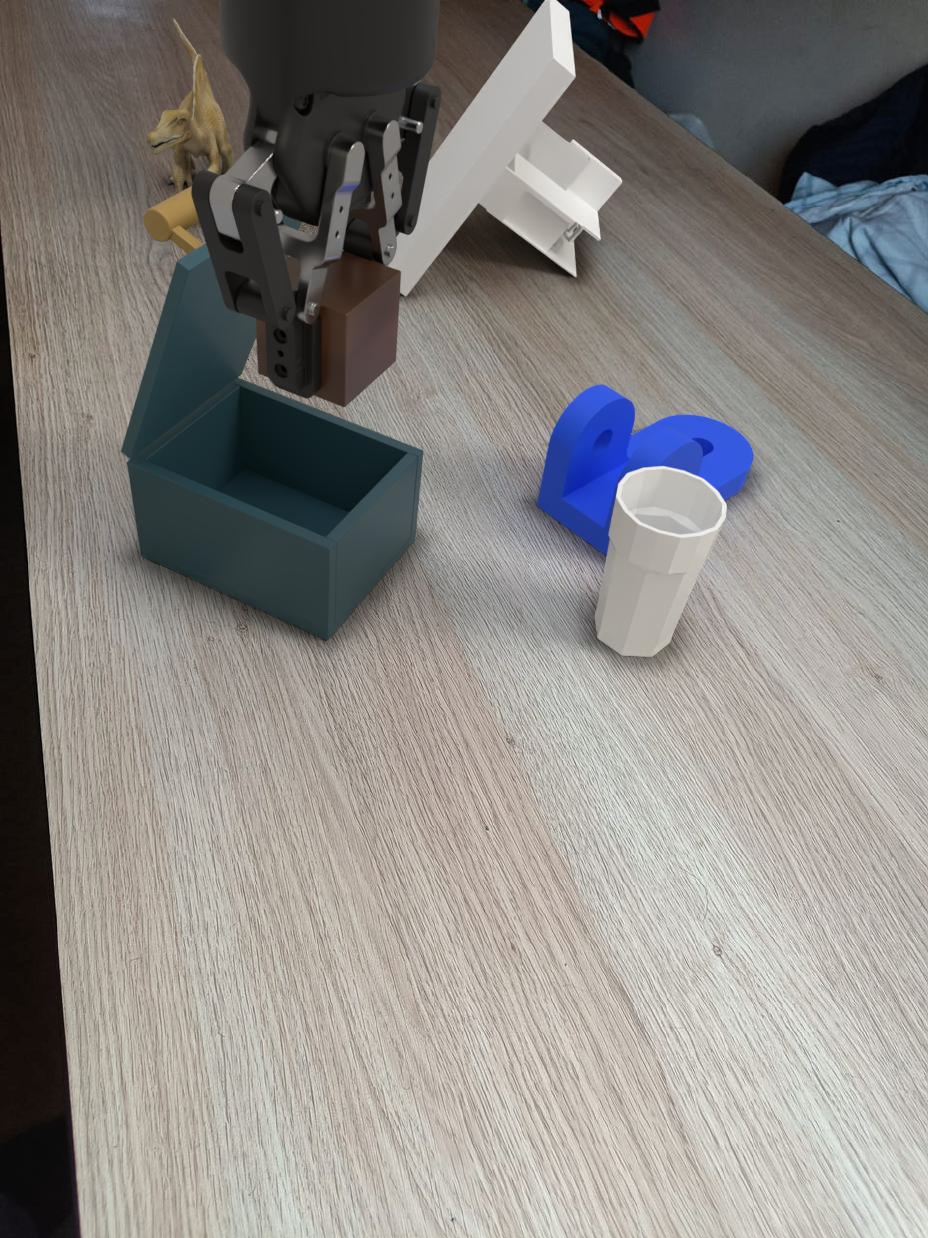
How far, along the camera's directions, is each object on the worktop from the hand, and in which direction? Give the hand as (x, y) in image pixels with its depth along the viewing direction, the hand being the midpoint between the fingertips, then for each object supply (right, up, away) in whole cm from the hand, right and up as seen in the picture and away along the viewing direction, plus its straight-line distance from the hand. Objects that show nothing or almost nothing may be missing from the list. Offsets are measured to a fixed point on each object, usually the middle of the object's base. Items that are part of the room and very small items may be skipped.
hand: (327, 360), depth 47 cm
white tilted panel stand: (+10, +26, +61) cm, 67 cm away
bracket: (+21, -1, +35) cm, 41 cm away
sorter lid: (-9, +6, +17) cm, 20 cm away
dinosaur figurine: (-21, +33, +64) cm, 75 cm away
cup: (+17, -12, +24) cm, 32 cm away
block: (0, 0, 0) cm, 0 cm away
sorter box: (-7, -6, +26) cm, 28 cm away
